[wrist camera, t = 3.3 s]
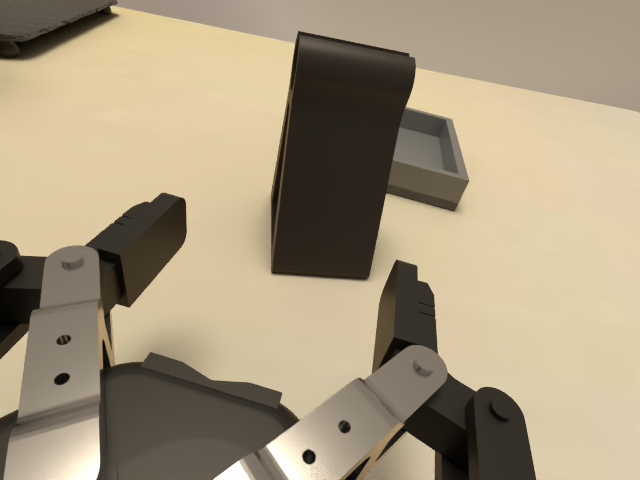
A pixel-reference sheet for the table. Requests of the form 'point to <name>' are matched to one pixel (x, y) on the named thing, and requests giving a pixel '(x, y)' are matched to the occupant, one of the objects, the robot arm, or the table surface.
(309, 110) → the phone stand
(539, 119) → the table surface
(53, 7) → the serving board
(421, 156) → the tray
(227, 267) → the table surface
